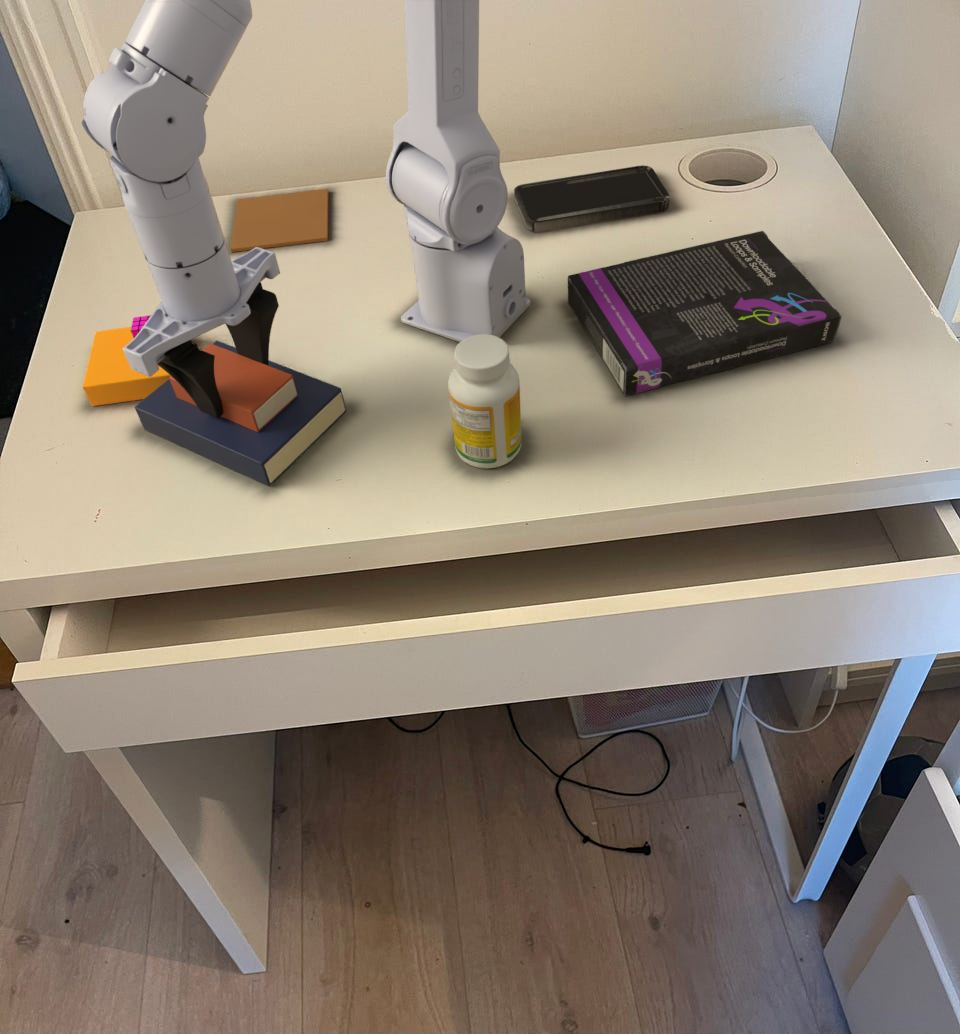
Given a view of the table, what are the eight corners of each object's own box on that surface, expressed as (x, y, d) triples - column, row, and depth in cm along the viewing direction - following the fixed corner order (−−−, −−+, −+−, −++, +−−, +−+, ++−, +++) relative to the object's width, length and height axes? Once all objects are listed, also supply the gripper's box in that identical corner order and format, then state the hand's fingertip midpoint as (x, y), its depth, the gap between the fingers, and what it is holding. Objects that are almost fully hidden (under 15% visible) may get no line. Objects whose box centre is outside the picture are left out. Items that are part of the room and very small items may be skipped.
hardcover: (347, 411, 80) (342, 388, 78) (270, 487, 75) (262, 464, 73) (224, 363, 86) (216, 339, 84) (144, 430, 80) (133, 406, 78)
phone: (672, 200, 96) (527, 223, 95) (671, 210, 97) (527, 233, 96) (649, 163, 101) (511, 185, 100) (649, 173, 102) (512, 194, 101)
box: (622, 402, 79) (837, 344, 81) (624, 369, 76) (846, 311, 79) (566, 306, 88) (761, 257, 90) (565, 274, 85) (766, 224, 88)
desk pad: (328, 191, 105) (327, 188, 105) (327, 240, 98) (327, 237, 98) (238, 202, 105) (237, 199, 104) (231, 252, 98) (230, 248, 98)
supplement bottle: (470, 479, 74) (459, 383, 66) (445, 436, 77) (432, 341, 70) (533, 457, 75) (529, 360, 68) (506, 416, 78) (500, 320, 71)
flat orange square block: (183, 394, 83) (167, 355, 80) (91, 406, 83) (72, 368, 80) (190, 338, 88) (176, 300, 85) (104, 350, 88) (86, 312, 85)
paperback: (299, 396, 78) (293, 375, 76) (259, 433, 75) (252, 412, 73) (217, 363, 81) (210, 342, 80) (176, 397, 79) (168, 377, 77)
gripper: (150, 316, 62) (209, 463, 72) (292, 210, 70) (327, 356, 80) (78, 288, 65) (144, 433, 75) (222, 189, 73) (264, 333, 83)
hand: (234, 392), depth 78 cm, fingers closed on paperback, 5 cm apart
